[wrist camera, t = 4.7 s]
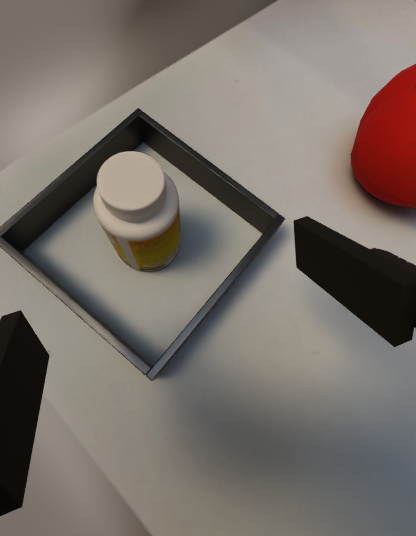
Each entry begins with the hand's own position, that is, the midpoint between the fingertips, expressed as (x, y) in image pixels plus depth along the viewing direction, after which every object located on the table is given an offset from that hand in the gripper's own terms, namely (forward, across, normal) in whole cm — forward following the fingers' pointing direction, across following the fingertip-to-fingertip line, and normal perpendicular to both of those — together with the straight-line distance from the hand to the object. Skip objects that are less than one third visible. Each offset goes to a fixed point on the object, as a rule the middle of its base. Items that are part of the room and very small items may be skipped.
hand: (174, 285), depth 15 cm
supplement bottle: (+14, 0, +4) cm, 14 cm away
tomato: (+13, -24, +4) cm, 28 cm away
